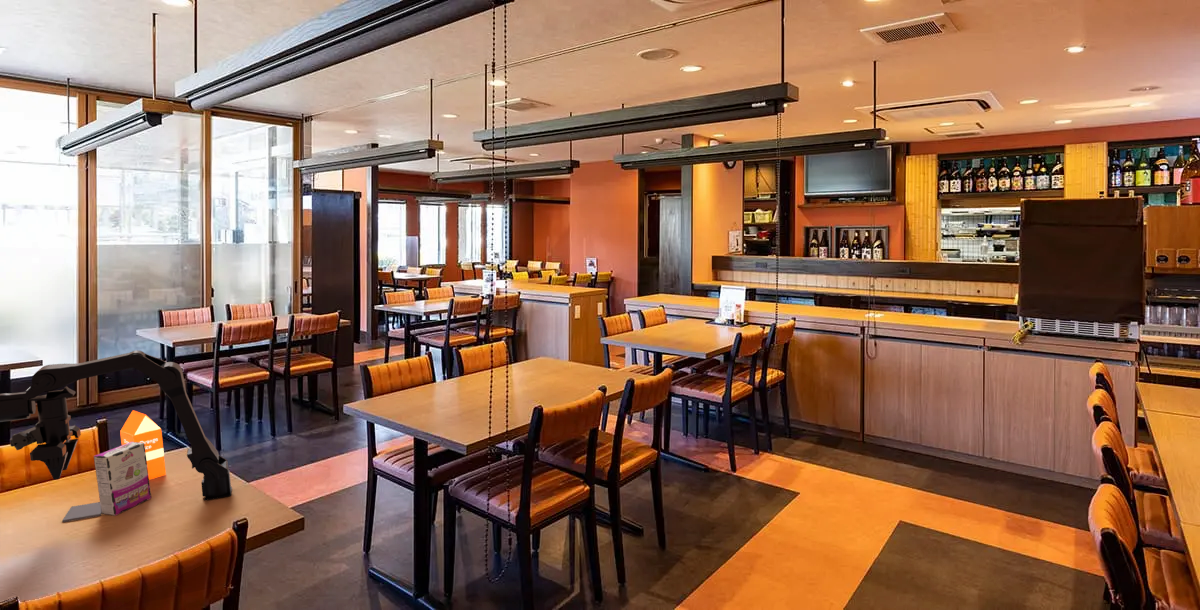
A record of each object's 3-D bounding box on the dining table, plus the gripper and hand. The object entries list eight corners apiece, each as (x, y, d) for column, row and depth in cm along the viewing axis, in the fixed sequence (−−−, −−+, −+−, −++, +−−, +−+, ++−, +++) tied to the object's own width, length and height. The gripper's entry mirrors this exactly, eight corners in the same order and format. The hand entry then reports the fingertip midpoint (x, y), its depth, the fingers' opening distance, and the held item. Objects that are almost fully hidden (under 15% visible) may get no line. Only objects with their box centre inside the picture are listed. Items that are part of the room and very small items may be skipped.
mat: (107, 502, 183) (107, 500, 182) (100, 515, 175) (100, 513, 175) (71, 508, 179) (71, 506, 179) (62, 522, 171) (62, 520, 171)
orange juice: (138, 483, 196) (130, 418, 193) (124, 477, 200) (117, 413, 198) (166, 474, 202) (160, 411, 199) (153, 468, 207) (146, 406, 204)
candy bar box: (137, 497, 186) (131, 441, 184) (152, 498, 185) (146, 442, 183) (99, 514, 175) (92, 455, 173) (114, 516, 174) (107, 456, 172)
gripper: (24, 410, 171) (31, 467, 174) (-2, 430, 155) (7, 494, 157) (77, 404, 176) (84, 460, 178) (58, 424, 160) (65, 485, 162)
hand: (60, 474), depth 169 cm, fingers open, 6 cm apart
